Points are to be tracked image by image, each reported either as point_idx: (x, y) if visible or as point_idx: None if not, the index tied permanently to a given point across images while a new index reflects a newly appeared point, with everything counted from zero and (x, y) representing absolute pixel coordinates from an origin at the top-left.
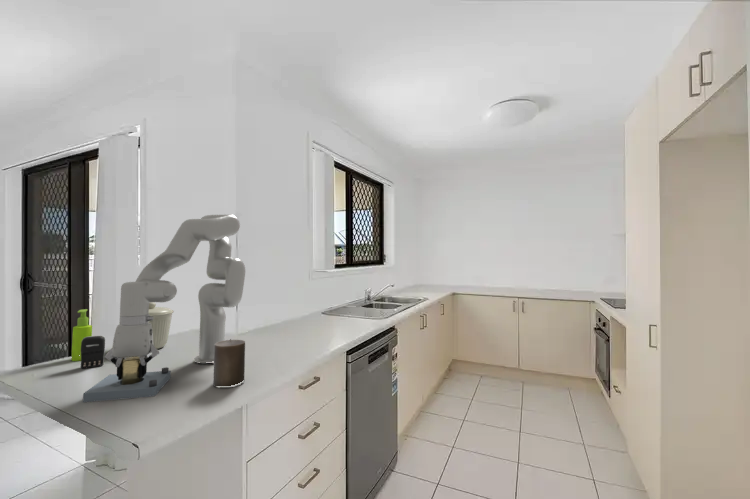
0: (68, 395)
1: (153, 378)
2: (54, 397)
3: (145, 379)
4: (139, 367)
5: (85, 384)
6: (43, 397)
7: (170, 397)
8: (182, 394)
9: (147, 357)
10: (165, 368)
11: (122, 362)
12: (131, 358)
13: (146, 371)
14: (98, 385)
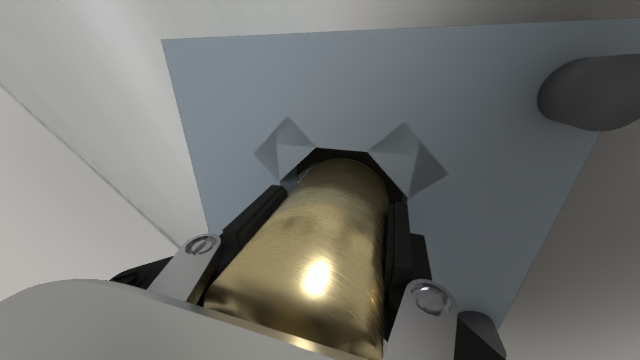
0: (158, 179)
1: (468, 215)
2: (134, 182)
3: (416, 214)
4: None
5: (121, 55)
6: (106, 171)
7: (545, 351)
8: (613, 351)
9: (452, 355)
10: (615, 104)
11: (215, 270)
12: (264, 320)
13: (424, 239)
14: (219, 219)
